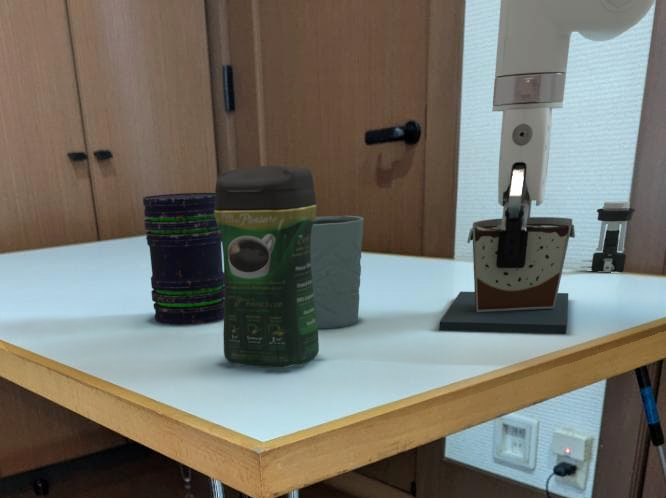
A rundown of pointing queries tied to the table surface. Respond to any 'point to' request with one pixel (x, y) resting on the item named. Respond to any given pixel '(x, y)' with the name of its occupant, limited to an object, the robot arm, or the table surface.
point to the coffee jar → (267, 265)
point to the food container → (520, 283)
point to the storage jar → (185, 258)
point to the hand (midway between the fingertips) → (512, 261)
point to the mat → (505, 317)
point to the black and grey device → (611, 237)
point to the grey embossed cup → (336, 269)
